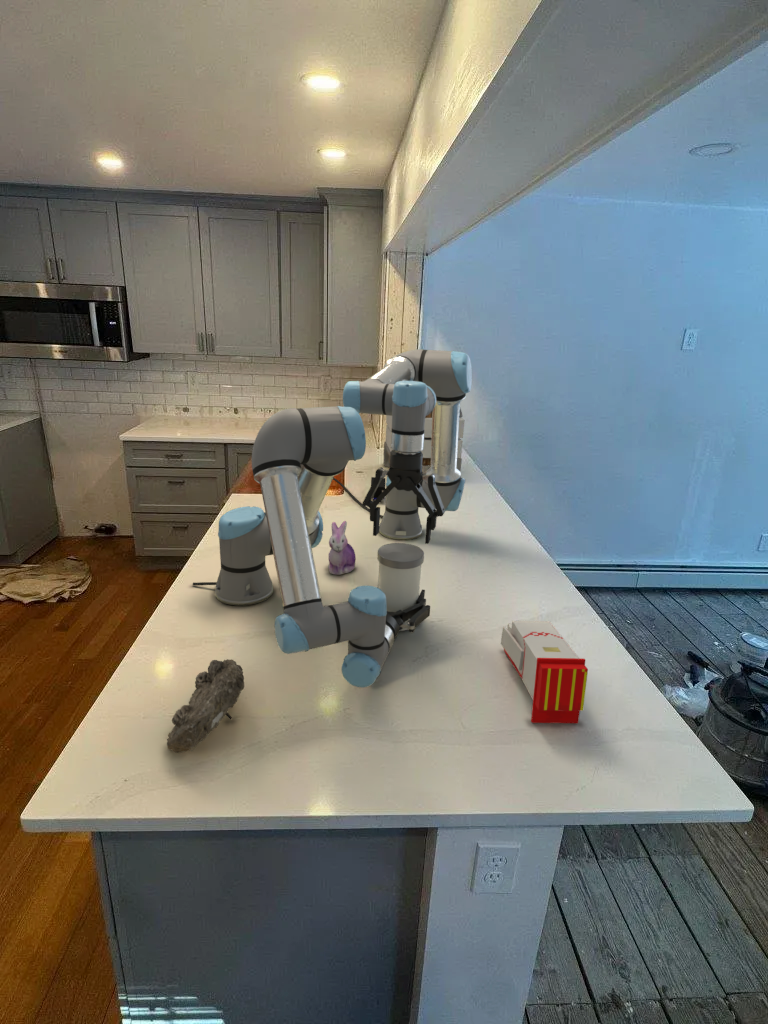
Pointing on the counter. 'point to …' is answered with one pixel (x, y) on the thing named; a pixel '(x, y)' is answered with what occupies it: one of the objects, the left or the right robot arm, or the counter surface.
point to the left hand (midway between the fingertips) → (402, 590)
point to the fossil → (206, 705)
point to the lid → (400, 555)
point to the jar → (399, 587)
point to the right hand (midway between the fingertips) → (401, 537)
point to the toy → (547, 670)
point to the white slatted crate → (427, 441)
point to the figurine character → (379, 489)
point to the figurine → (340, 551)
